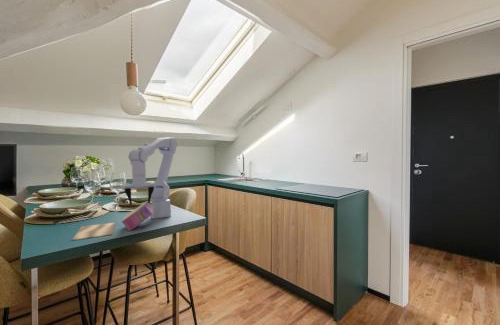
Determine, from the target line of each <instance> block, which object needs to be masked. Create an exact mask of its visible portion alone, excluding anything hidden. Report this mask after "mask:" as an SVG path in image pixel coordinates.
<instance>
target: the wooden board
mask: <svg viewBox="0 0 500 325" xmlns="http://www.w3.org/2000/svg"><path fill="white" fill-rule="evenodd" d="M116 224H117V223H116V221H115V222H109V223H100V224H98V223H97V224H91V225H83V226H81V227H80V228H79V229H78V231H77V232H76V234H75V235H74V236H73V237H72V239H71V240H72V241H77V240H78V241H79V240H85V239H93V238H99V237H107V236H112V235H113V232H114V230H115V227H116Z"/></svg>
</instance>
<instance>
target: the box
mask: <svg viewBox="0 0 500 325" xmlns="http://www.w3.org/2000/svg"><path fill="white" fill-rule="evenodd" d="M153 212H154V208H153V207H152V203H151V202H150V203H148V200H146V201H144V202H142V204H140V205H139V206H137V207H136V208H134V209H132V211H130V212H129V213H127V214H126V215H125V216H124V218H123V219H122V220H121V223H122V224H123V225H124V227H126V229H127V230H128V231H129V232H130V231H132V230H133V229H135V228H136V227H137V226H139V225H140V224H142V223H143V222H144V221H146V220H148V219H149V218H150V217H151V216H152V215H153Z"/></svg>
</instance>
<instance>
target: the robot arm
mask: <svg viewBox="0 0 500 325" xmlns="http://www.w3.org/2000/svg"><path fill="white" fill-rule="evenodd" d="M177 146H178V142H177V139H176V138H175V136H171V137H157V138H156V139H155V140H154V141H152V142H151V143H147V142H145V143H144V144H143V145H142V146H139V147H138V148H137V149H132V150H131V151H129V153H128V159H129V161H130V165H131V173H132V175H131V176H132V177H131V178H132V183H131V184H122V185H121V190H124V193H125V195H126V197H127V198H128V201H129V205H130V206H132V205H133V201H132V200H133V199H132V190H137V189H147V198H148V199H147V201H148V203H150V204H151V206H152V207H153V208H154V212H153V215H152V216H150V217H151V219H152V220H153V219H154V220H155V219H164V218H171V217H172V208H171V199H169V197H170V189H171V187H170V186H169V184H168V183H167V182H168V178H169V174H170V169H171V167H172V163H173V160H174V159H173V158H174V155H175V154H176V151H177V148H178V147H177ZM157 149H158V151H159V152H160V154H162V155H163V156H162V159H161V162H160V163H161V164H160V166H159V170H158V172H157V177H156V180H155V181H154V182H151V183H150V182H149V183H147V177H146V175H147V174H146V172H147V171H146V162H147V161H148V159H149V158H150V156H152V155H153V154H154V153H155V150H157Z"/></svg>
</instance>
